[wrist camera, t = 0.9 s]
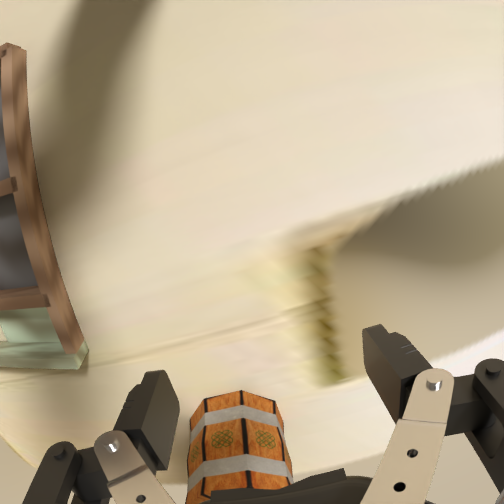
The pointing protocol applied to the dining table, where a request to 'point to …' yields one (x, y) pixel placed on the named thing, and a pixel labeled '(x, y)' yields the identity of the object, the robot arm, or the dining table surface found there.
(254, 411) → the mug
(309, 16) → the dining table surface
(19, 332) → the wooden divided tray
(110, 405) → the dining table surface
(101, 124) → the dining table surface
